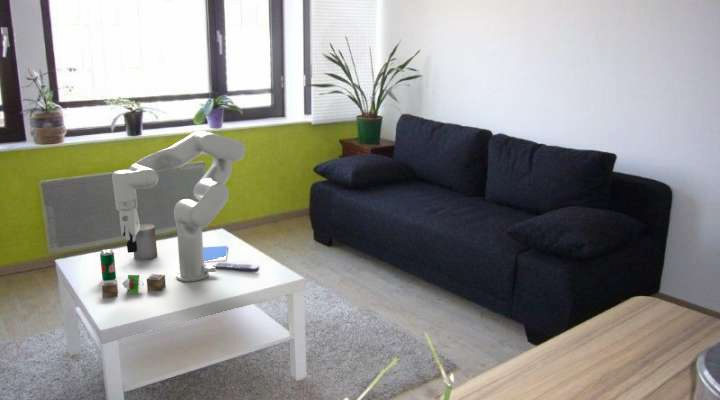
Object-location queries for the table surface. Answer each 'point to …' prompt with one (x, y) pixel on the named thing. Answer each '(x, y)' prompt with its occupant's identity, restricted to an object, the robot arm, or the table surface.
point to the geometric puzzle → (132, 284)
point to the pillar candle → (146, 242)
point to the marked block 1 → (109, 288)
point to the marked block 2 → (156, 283)
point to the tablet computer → (214, 252)
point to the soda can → (107, 265)
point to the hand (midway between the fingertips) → (132, 251)
